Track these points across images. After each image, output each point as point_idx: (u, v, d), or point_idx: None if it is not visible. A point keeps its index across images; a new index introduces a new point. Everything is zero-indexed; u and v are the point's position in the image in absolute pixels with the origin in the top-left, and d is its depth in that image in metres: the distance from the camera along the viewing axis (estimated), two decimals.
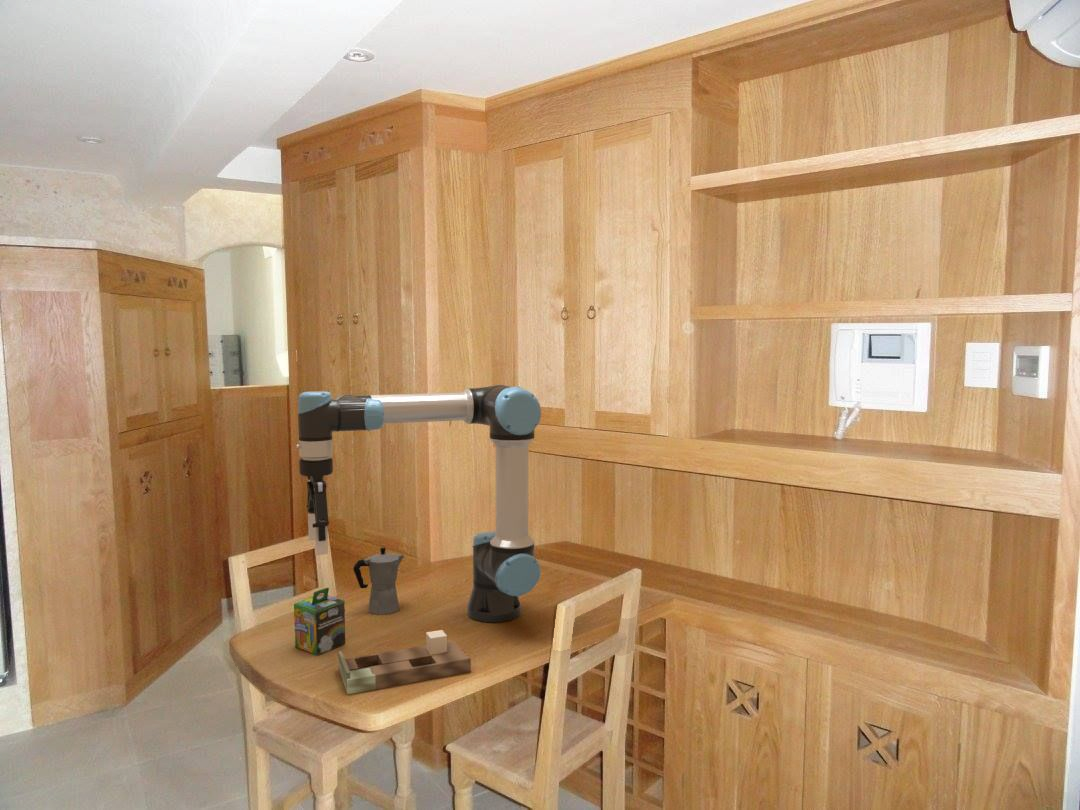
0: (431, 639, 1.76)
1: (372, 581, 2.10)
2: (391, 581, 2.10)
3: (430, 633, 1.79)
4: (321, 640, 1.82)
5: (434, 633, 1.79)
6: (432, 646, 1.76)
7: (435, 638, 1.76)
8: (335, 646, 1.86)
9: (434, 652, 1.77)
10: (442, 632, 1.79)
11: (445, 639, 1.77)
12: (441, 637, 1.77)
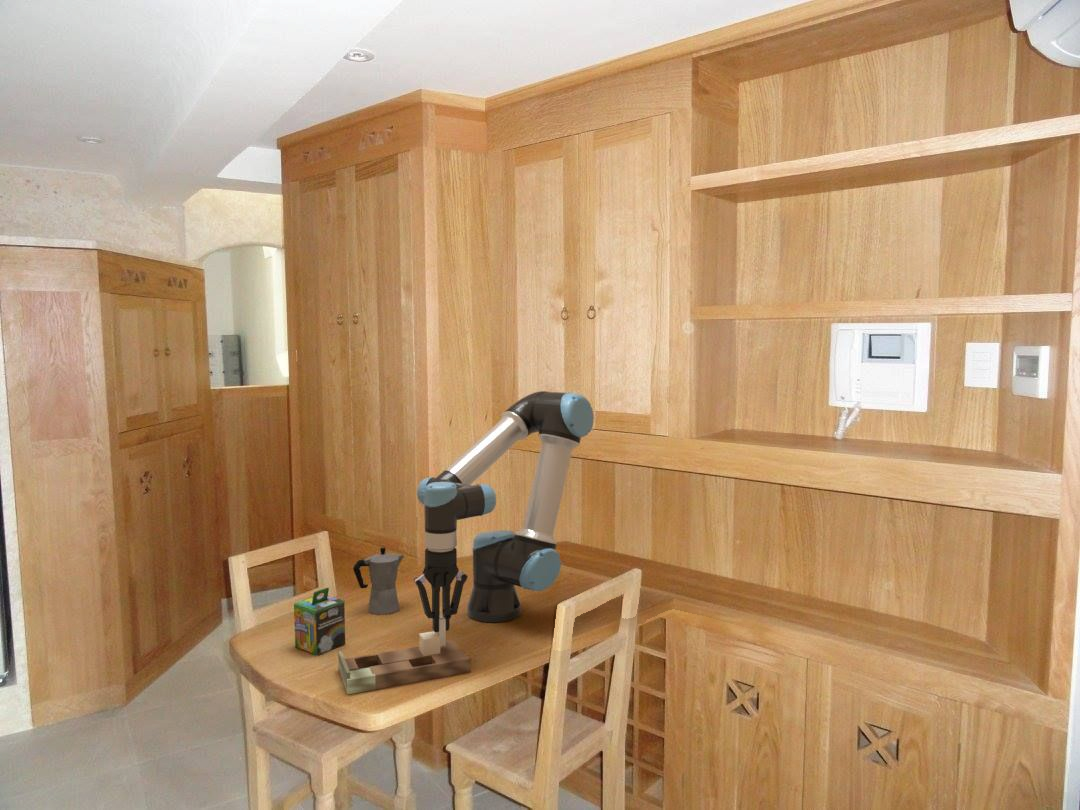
0: (424, 640, 1.75)
1: (372, 581, 2.10)
2: (391, 581, 2.10)
3: (423, 634, 1.78)
4: (321, 640, 1.82)
5: (427, 635, 1.78)
6: (426, 647, 1.76)
7: (428, 639, 1.76)
8: (335, 646, 1.86)
9: (427, 653, 1.76)
10: (435, 633, 1.79)
11: (438, 640, 1.77)
12: (434, 638, 1.76)
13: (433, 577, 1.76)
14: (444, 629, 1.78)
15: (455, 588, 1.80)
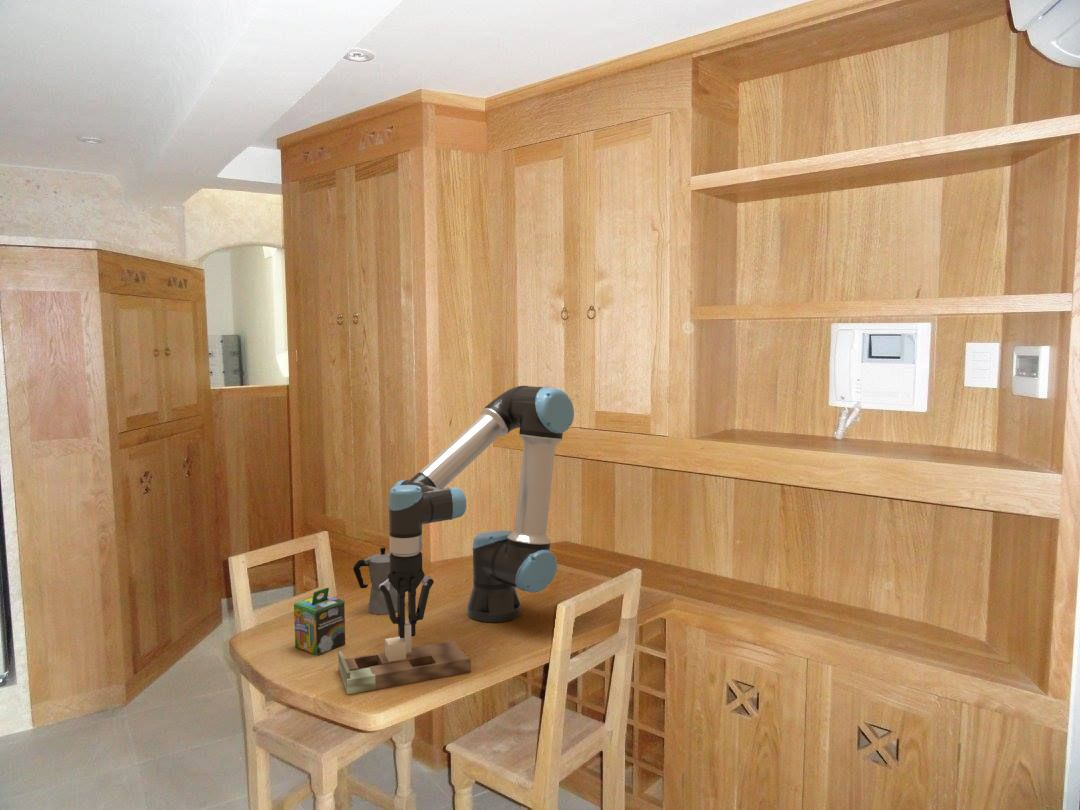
0: (389, 646, 1.72)
1: (372, 581, 2.10)
2: None
3: (389, 640, 1.75)
4: (321, 640, 1.82)
5: (393, 640, 1.75)
6: (391, 653, 1.72)
7: (393, 645, 1.72)
8: (335, 646, 1.86)
9: (392, 659, 1.73)
10: (401, 638, 1.76)
11: (404, 646, 1.73)
12: (399, 644, 1.73)
13: (398, 582, 1.73)
14: (410, 635, 1.74)
15: (421, 593, 1.77)
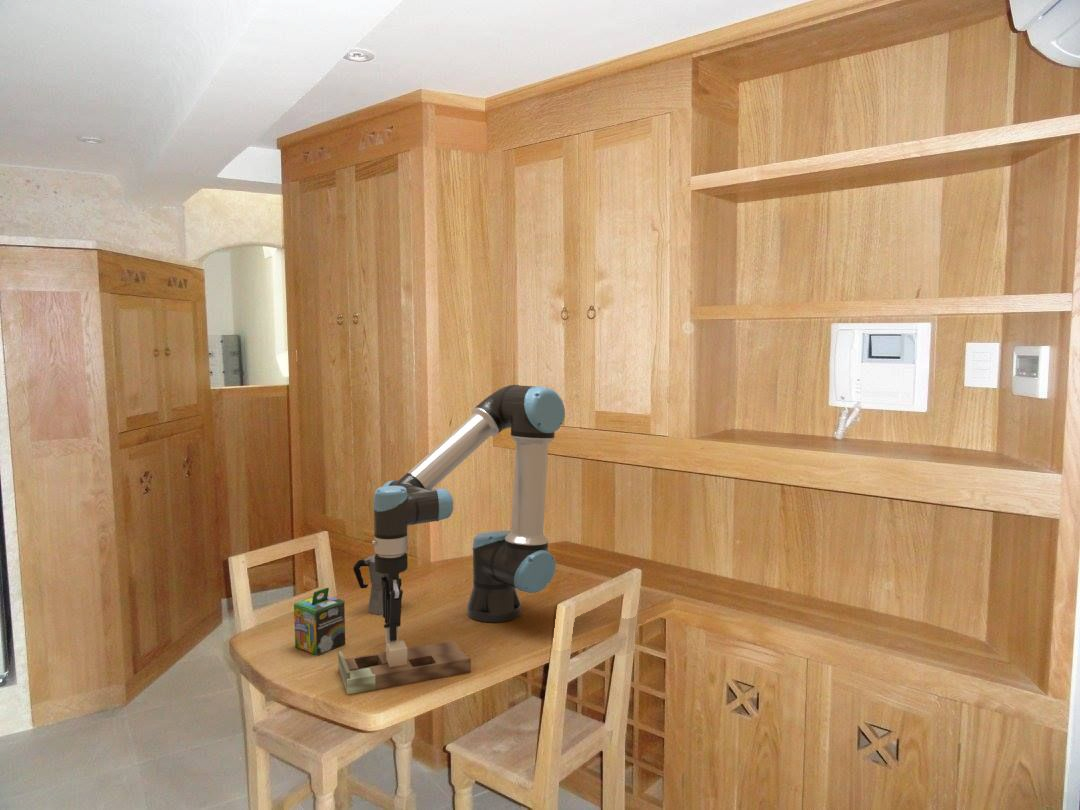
0: (390, 651, 1.69)
1: (372, 581, 2.10)
2: None
3: (390, 644, 1.72)
4: (321, 640, 1.82)
5: (394, 645, 1.72)
6: (392, 658, 1.70)
7: (395, 650, 1.70)
8: (335, 646, 1.86)
9: (393, 664, 1.70)
10: (403, 643, 1.73)
11: (405, 651, 1.71)
12: (401, 649, 1.70)
13: None
14: None
15: None
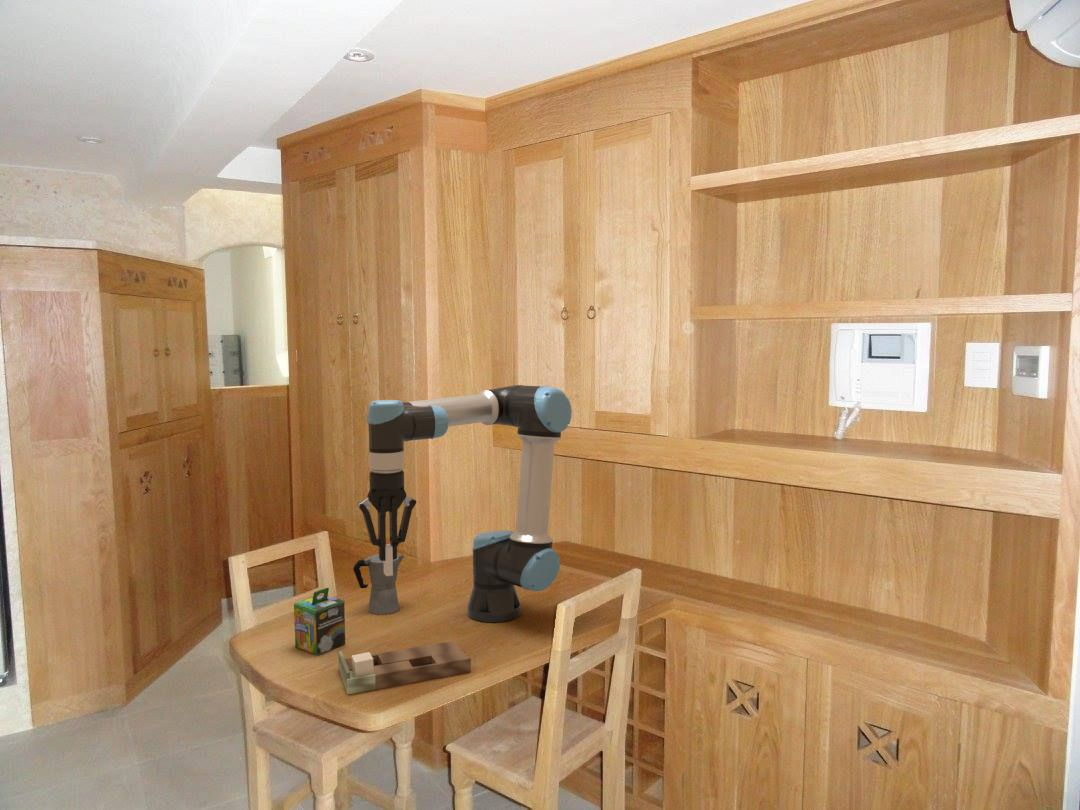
0: (355, 663, 1.63)
1: (372, 581, 2.10)
2: (391, 581, 2.10)
3: (356, 656, 1.66)
4: (321, 640, 1.82)
5: (360, 657, 1.66)
6: (358, 670, 1.64)
7: (360, 662, 1.64)
8: (335, 646, 1.86)
9: None
10: (369, 655, 1.67)
11: (371, 662, 1.65)
12: (366, 660, 1.64)
13: (378, 501, 1.64)
14: (391, 557, 1.66)
15: (403, 514, 1.68)
